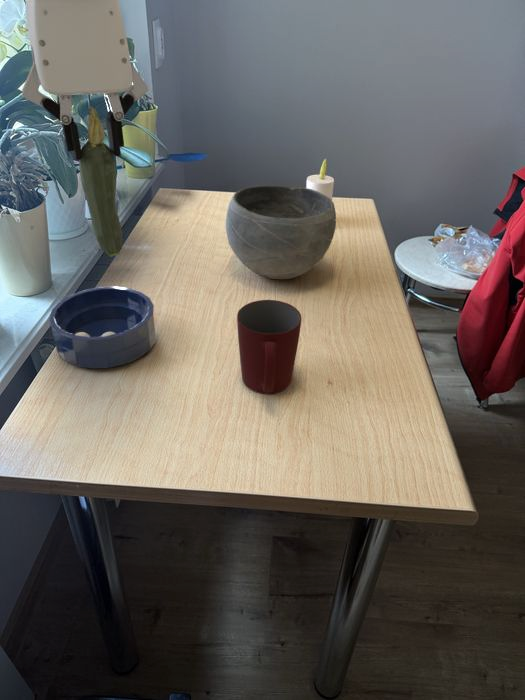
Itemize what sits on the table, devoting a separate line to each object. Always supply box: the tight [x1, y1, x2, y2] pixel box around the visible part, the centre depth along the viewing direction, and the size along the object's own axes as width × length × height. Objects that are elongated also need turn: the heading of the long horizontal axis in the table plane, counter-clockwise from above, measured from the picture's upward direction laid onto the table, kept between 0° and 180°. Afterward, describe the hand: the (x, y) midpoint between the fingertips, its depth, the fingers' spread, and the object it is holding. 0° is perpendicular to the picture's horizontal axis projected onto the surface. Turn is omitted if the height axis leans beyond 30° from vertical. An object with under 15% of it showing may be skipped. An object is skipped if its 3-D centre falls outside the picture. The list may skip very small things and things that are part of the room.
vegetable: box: [78, 105, 123, 258], centre depth 68 cm, size 4×4×20 cm
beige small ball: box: [75, 332, 90, 337], centre depth 82 cm, size 3×3×3 cm
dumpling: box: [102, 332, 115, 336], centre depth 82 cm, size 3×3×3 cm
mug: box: [236, 299, 302, 395], centre depth 75 cm, size 12×9×11 cm
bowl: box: [225, 184, 337, 280], centre depth 104 cm, size 21×21×15 cm
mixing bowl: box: [48, 286, 158, 369], centre depth 84 cm, size 16×16×6 cm
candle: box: [305, 158, 335, 201], centre depth 125 cm, size 6×6×15 cm
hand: (96, 153), depth 65 cm, fingers closed on vegetable, 4 cm apart
